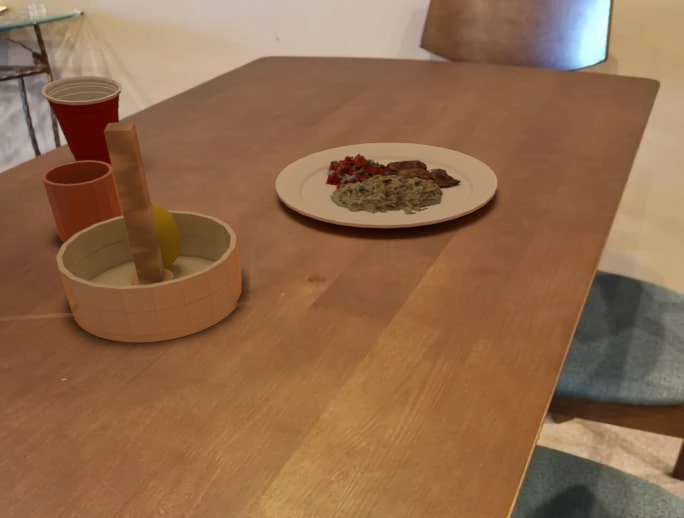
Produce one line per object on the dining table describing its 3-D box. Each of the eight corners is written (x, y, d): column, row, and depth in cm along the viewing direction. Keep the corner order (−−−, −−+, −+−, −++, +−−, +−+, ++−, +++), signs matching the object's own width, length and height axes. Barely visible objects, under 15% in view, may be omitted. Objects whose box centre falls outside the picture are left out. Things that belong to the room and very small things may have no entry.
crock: (54, 252, 88) (34, 187, 83) (68, 224, 94) (50, 162, 89) (122, 248, 88) (106, 183, 83) (132, 221, 94) (117, 158, 89)
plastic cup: (86, 191, 103) (62, 101, 95) (52, 172, 109) (27, 85, 101) (152, 171, 108) (135, 84, 100) (116, 154, 114) (97, 70, 106)
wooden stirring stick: (132, 309, 75) (90, 135, 64) (138, 289, 79) (99, 120, 67) (175, 306, 76) (140, 132, 64) (179, 286, 79) (146, 117, 67)
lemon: (171, 286, 79) (156, 215, 74) (127, 279, 80) (110, 209, 75) (194, 264, 83) (182, 194, 78) (152, 258, 84) (137, 189, 79)
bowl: (55, 348, 72) (37, 293, 68) (90, 264, 85) (76, 215, 81) (240, 336, 72) (232, 282, 68) (244, 255, 86) (238, 206, 82)
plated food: (455, 256, 84) (458, 228, 82) (235, 218, 94) (232, 192, 92) (520, 169, 105) (524, 145, 102) (333, 146, 115) (332, 123, 112)
